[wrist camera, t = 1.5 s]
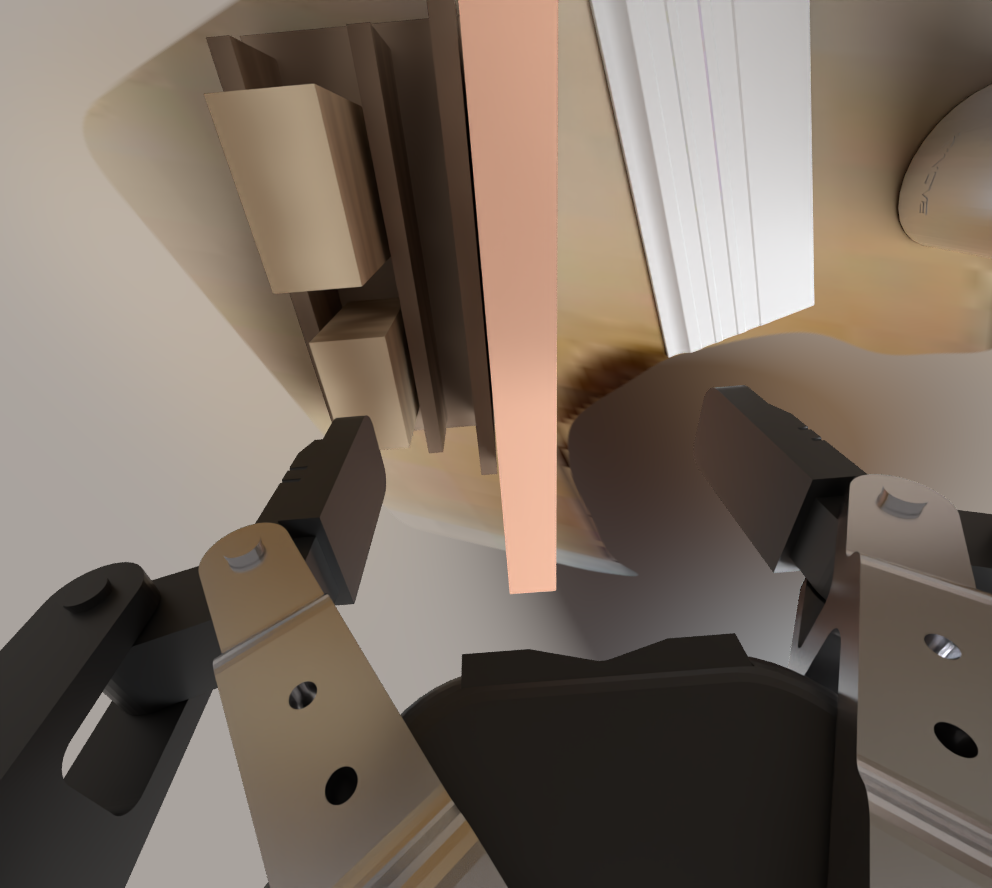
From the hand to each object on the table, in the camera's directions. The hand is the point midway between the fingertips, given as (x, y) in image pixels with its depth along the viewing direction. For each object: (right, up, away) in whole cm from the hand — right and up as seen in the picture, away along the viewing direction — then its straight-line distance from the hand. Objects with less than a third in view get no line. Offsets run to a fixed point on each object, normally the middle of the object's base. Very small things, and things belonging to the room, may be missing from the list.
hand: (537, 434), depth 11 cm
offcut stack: (-9, +11, +18) cm, 23 cm away
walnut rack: (-5, +12, +20) cm, 24 cm away
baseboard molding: (+11, +21, +16) cm, 28 cm away
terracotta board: (-1, +11, +18) cm, 21 cm away
